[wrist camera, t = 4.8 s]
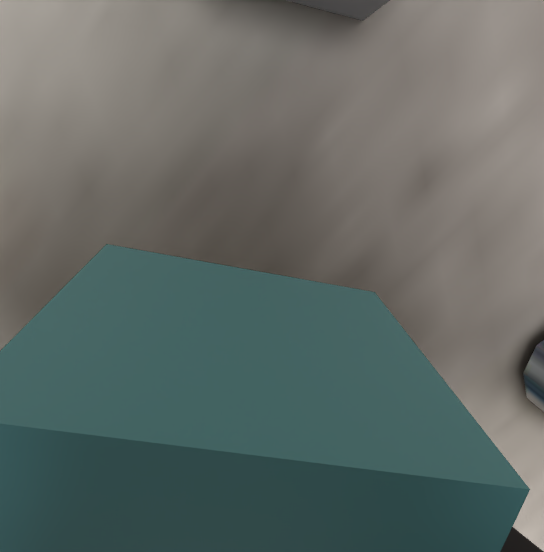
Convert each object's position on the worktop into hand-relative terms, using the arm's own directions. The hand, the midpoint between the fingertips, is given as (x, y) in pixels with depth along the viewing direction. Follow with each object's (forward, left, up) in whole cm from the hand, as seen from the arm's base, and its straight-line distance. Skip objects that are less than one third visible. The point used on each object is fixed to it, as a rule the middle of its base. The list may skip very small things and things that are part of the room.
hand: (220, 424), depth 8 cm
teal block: (0, 0, -1) cm, 1 cm away
